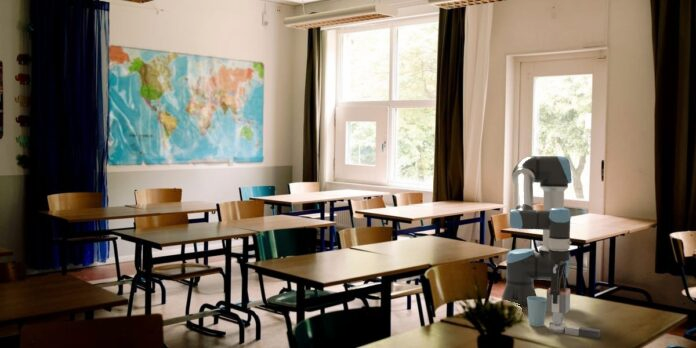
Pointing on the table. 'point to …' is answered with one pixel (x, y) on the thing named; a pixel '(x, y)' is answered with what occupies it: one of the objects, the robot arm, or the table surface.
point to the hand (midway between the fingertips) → (558, 309)
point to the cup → (536, 310)
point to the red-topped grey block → (564, 300)
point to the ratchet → (570, 328)
